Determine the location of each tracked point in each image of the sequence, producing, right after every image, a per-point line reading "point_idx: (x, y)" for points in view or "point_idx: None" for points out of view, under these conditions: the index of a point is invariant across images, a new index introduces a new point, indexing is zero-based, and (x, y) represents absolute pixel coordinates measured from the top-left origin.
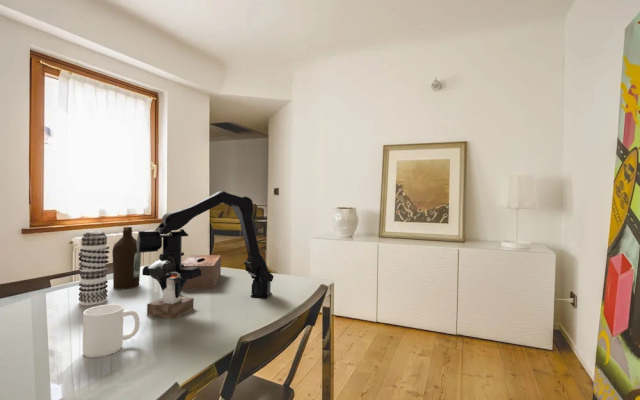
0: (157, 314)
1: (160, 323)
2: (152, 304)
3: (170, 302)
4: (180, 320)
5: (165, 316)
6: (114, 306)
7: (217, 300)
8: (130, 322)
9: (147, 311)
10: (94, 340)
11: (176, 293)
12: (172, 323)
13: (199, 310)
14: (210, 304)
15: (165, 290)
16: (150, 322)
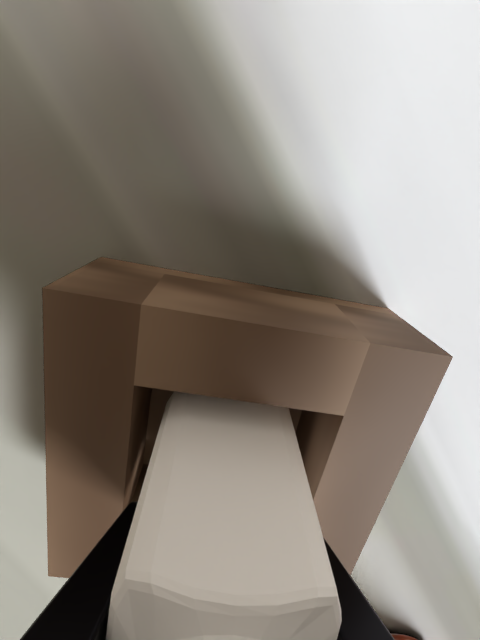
0: (282, 293)
1: (148, 106)
2: (377, 343)
3: (189, 425)
4: (5, 218)
5: (192, 275)
6: None
7: (29, 625)
8: (470, 98)
9: (400, 321)
10: None
11: (99, 555)
12: (25, 121)
13: (15, 458)
14: (23, 565)
15: (282, 588)
16: (266, 124)
